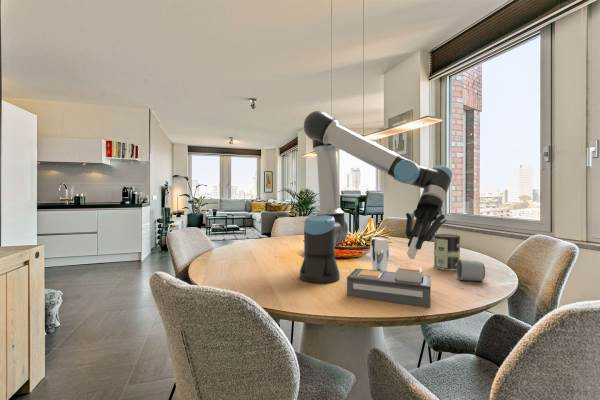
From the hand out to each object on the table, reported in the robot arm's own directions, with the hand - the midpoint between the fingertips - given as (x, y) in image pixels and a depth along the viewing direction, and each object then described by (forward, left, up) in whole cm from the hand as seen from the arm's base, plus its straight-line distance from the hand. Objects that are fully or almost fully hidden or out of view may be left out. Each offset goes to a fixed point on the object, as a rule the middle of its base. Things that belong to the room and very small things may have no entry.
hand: (410, 256), depth 94 cm
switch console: (-6, 0, -13) cm, 14 cm away
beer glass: (-12, +19, -13) cm, 26 cm away
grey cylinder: (+19, +31, -13) cm, 38 cm away
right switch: (0, 0, -7) cm, 7 cm away
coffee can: (+12, +47, -13) cm, 50 cm away
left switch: (-12, 0, -10) cm, 16 cm away
